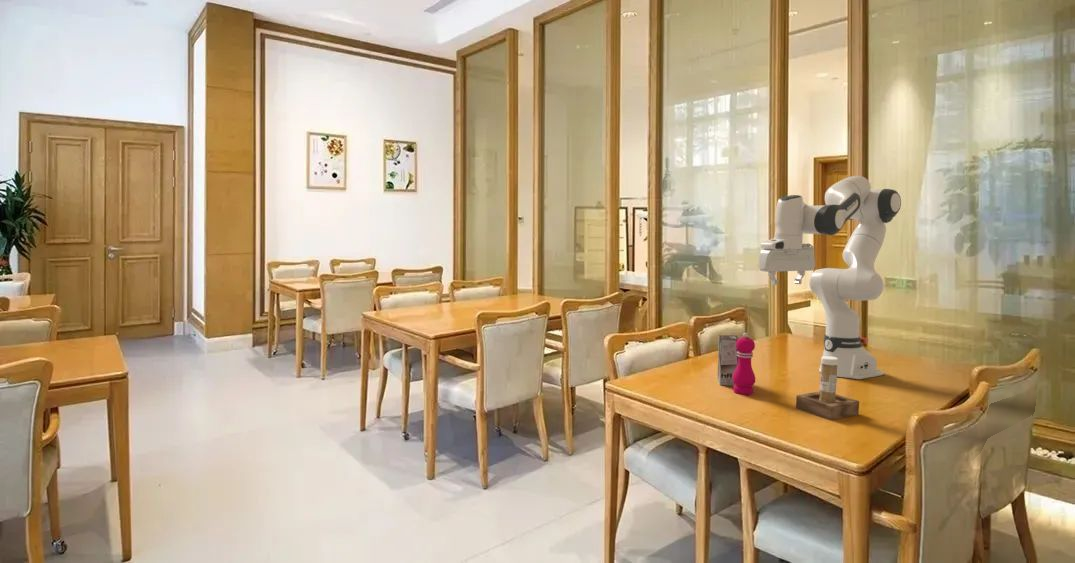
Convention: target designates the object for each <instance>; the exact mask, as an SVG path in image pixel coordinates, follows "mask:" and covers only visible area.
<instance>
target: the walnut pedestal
mask: <svg viewBox="0 0 1075 563" xmlns="http://www.w3.org/2000/svg"><path fill="white" fill-rule="evenodd" d="M819 398H820V390H819V391H814V392H808V393H803V394H797V395H796V401H795V402H796V403H795V408H796V409H797V410H800V411H803V412H806V413H809V414H811V415H815V416H817V417H819V418H820V417H821V418H823V419H826V420H829V421H834V420H839V419H843V418H847V417H853V416H857V415H858V416H859V414H860V413H859V412H860V400H856V399H853V398H850V397H847V396H843V395H839V394H835V400H836V402H835V403H826V402H823V401H820V400H819Z"/></svg>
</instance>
